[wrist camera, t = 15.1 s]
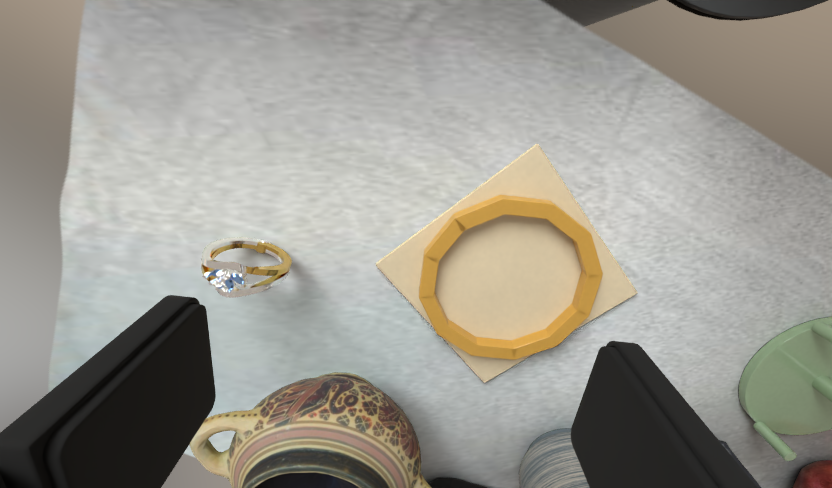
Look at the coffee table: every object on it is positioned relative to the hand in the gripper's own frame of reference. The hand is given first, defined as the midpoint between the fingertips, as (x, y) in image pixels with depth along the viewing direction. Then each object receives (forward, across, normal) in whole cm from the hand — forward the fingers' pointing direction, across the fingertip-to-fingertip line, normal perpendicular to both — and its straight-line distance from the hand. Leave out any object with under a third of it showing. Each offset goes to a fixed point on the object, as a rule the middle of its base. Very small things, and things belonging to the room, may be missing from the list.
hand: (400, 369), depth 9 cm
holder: (+26, -44, +18) cm, 55 cm away
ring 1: (+26, +14, +9) cm, 31 cm away
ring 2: (+25, -10, +10) cm, 29 cm away
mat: (+26, -10, +10) cm, 30 cm away
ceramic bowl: (+26, +5, +28) cm, 39 cm away
